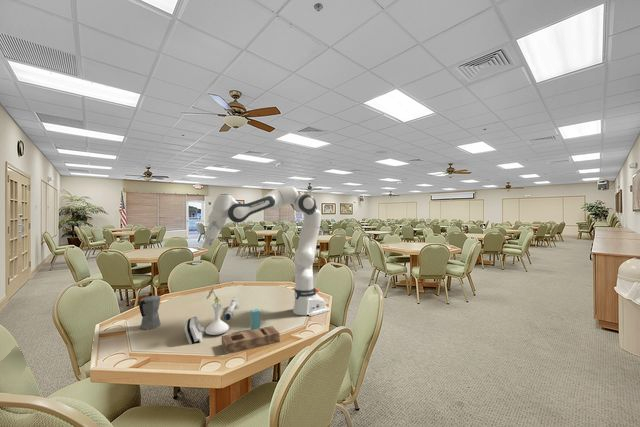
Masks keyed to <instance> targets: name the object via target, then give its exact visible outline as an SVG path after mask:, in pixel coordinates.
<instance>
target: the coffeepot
mask: <svg viewBox="0 0 640 427" xmlns="http://www.w3.org/2000/svg"><path fill="white" fill-rule="evenodd" d="M148 295H149V296H144V297H142V298H141V299H140V302H139V305H138V307H139V312H140V316H141V317H142V319H141V324H140V329H141V330H143V329H149V330H154V329H157V328H158V326H159V327H160V325H161V320H160V314H159V308H160V303H161V296H160V295H153V292H149V293H148ZM156 327H157V328H156ZM153 328H154V329H153Z"/></svg>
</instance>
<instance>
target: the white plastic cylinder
mask: <svg viewBox="0 0 640 427" xmlns="http://www.w3.org/2000/svg"><path fill="white" fill-rule="evenodd" d="M238 300H239V299H238V297H232V298H231V302H230V304H229V306H228V308H227V310H226V311H225V312H224V315H223V319H224V320H226V321H227V320H231V319H232V317H233V315H234V314H233V313H234V311H235V310H236V309H238V308H239V305H240V302H239V301H238Z"/></svg>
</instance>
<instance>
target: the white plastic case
mask: <svg viewBox="0 0 640 427" xmlns="http://www.w3.org/2000/svg"><path fill="white" fill-rule="evenodd" d="M205 329H206V328H205V327H204V326H203V325H201V324H200V322H199V320H198V317H197V315H195V316H191V317H190V318H188V319H187V320H185V322H184V330H183V331H184V332H185V336H186V339H187V342H188V344H189V345H192V344H193V343H196V342H198V341H199V343H201V344H202V341H203V336H204V333H205Z"/></svg>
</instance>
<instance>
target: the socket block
mask: <svg viewBox="0 0 640 427" xmlns="http://www.w3.org/2000/svg"><path fill="white" fill-rule="evenodd" d="M280 335H281V334H280V332H279V330H277V329H276V328H275V327H274V326H273V325H270V326H266V327H265V326H264V327H260V328H259V329H254V330H251V329H250V330H245V331H240V332H236V333H230V334H225V335H221V348H222V349H223V351H224V353H225V355H228V354H233V353H237V352H242V351H247V350H249V349H250V350H251V349H254V348H255V349H256V348H260V347H264V346H266V345H267V346H268V345H272V344H276V343H280V342H281V340H280Z"/></svg>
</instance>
